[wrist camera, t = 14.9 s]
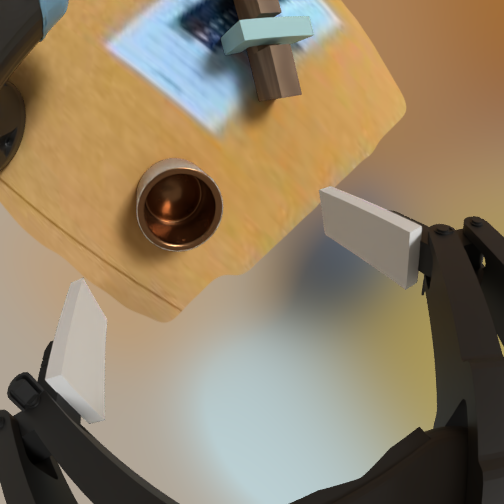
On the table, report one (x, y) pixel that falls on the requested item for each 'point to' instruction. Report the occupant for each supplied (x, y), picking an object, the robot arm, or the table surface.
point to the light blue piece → (266, 32)
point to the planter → (178, 205)
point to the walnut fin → (269, 55)
